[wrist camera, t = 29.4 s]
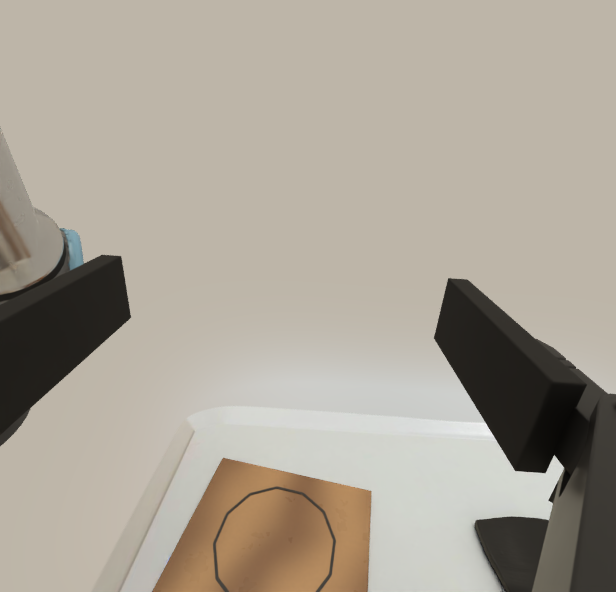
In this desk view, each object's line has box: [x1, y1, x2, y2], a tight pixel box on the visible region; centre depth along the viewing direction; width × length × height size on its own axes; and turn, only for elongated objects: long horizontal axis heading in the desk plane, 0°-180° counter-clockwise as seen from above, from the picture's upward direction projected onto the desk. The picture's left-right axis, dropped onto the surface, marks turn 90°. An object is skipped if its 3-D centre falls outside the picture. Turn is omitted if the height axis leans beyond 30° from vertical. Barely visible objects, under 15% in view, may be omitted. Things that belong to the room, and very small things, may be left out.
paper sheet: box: [152, 458, 371, 592], centre depth 30 cm, size 16×14×1 cm
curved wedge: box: [475, 517, 549, 592], centre depth 29 cm, size 8×14×2 cm, turn 91°
